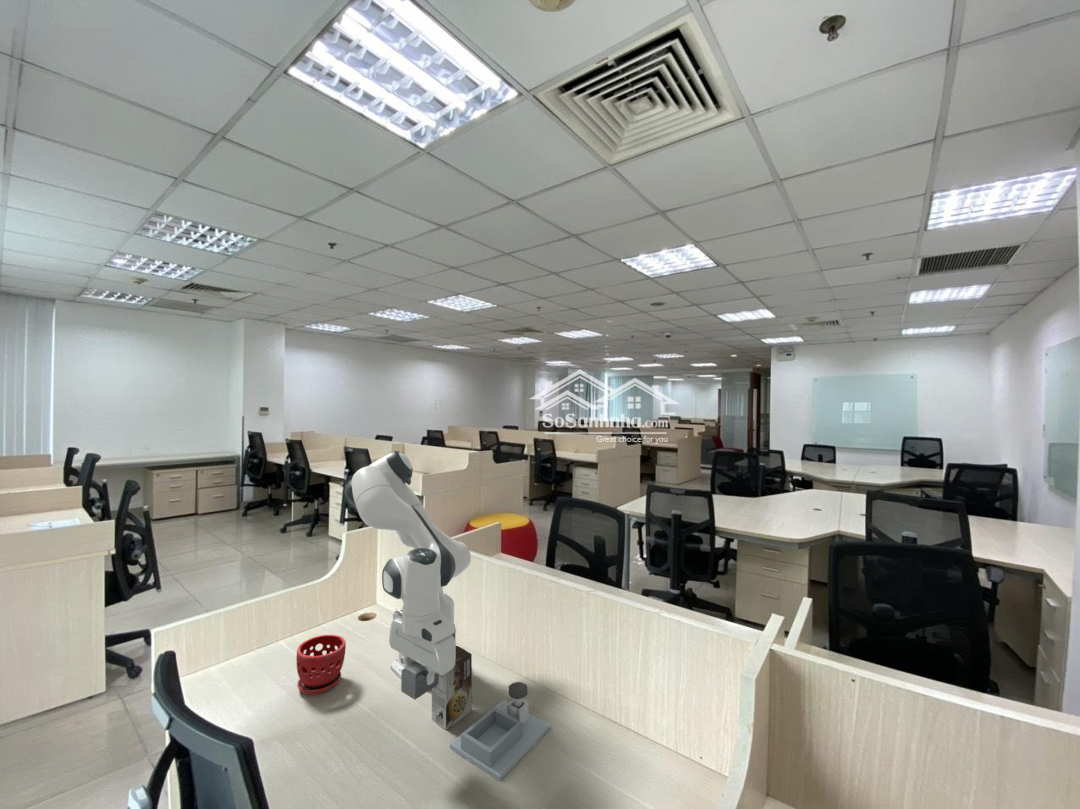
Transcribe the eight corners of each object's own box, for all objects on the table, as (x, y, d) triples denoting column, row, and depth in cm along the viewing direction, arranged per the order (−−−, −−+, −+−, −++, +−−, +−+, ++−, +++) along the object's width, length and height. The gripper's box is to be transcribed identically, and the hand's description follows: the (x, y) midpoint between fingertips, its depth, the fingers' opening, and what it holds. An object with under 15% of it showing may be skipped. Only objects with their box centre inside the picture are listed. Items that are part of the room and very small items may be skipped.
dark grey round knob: (504, 707, 116) (504, 689, 116) (516, 697, 120) (516, 679, 120) (519, 715, 113) (519, 696, 113) (531, 704, 117) (531, 686, 117)
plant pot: (309, 705, 122) (309, 662, 122) (288, 687, 130) (288, 646, 130) (353, 682, 133) (354, 642, 133) (331, 666, 141) (331, 628, 141)
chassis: (449, 747, 108) (450, 727, 108) (503, 703, 124) (503, 685, 124) (499, 781, 98) (499, 758, 98) (550, 728, 114) (550, 709, 114)
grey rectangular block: (401, 691, 104) (401, 665, 104) (424, 676, 110) (425, 652, 110) (414, 699, 101) (415, 673, 101) (438, 684, 107) (438, 659, 107)
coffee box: (457, 701, 124) (457, 644, 124) (472, 712, 120) (472, 652, 120) (430, 719, 117) (430, 658, 117) (445, 731, 113) (446, 668, 113)
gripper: (383, 611, 109) (382, 667, 109) (439, 639, 97) (438, 702, 97) (404, 602, 114) (403, 656, 114) (460, 627, 102) (459, 687, 102)
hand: (420, 677), depth 105 cm, fingers closed on grey rectangular block, 5 cm apart
